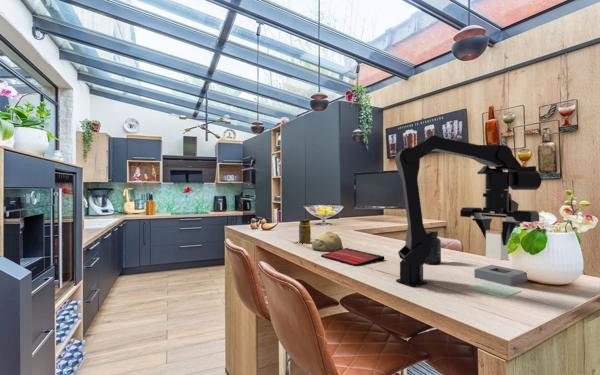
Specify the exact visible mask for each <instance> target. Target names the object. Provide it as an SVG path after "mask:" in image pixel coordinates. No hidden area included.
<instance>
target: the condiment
mask: <svg viewBox="0 0 600 375" xmlns="http://www.w3.org/2000/svg"><path fill="white" fill-rule="evenodd" d="M311 226H312V225H311V220H310V219H307V218H304V219H300V220H299V224H298V241H293V243H294V244H298V245H306V244H313V242H314V241H311V239H312V238H311V228H312V227H311ZM298 242H299V243H298ZM302 243H303V244H302Z"/></svg>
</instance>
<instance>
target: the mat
mask: <svg viewBox="0 0 600 375" xmlns="http://www.w3.org/2000/svg"><path fill="white" fill-rule="evenodd" d="M467 289H469V290H472V291H476V292H479V293H484V294H487V295H490V296H494V297H497V298H501V299H505V298H508V297H511V296H513V295H515V294H519V293H520V292H522V290H519V289H518V290H517V289H514V288H511V287H508V286H507V287H505V286H502V285H499V284H495V283H492V282H491V283H490V282H488V281H487V282H486V281H485V282H482V283H481V282H480V283H479V284H475V285H473V286H469V287H467Z"/></svg>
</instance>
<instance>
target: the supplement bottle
mask: <svg viewBox="0 0 600 375" xmlns="http://www.w3.org/2000/svg"><path fill="white" fill-rule="evenodd" d="M425 230H426V231H428V232H431V233H432V244H433V246H434V247H431V248H432V252H431V254H430V255H429V256H428V257H427V258H426V260H425V262H424V265H425V264H426V265H440V264H441V263H442V239H440V238H439V231H438V230H435V229H425Z"/></svg>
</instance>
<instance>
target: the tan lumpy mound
mask: <svg viewBox="0 0 600 375" xmlns="http://www.w3.org/2000/svg"><path fill="white" fill-rule="evenodd" d="M312 242H313V243H311V248H312V250H315V251H322V252H330V251H331V252H334V251H337V250H341V249H344V246H343V242H342V238H341V237H340V236H339V235H338V234H337V233H334V232H331V231H326V232H325V233H323V234H321V235H320V236H318V237H317V238H316V239H314V241H312Z"/></svg>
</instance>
